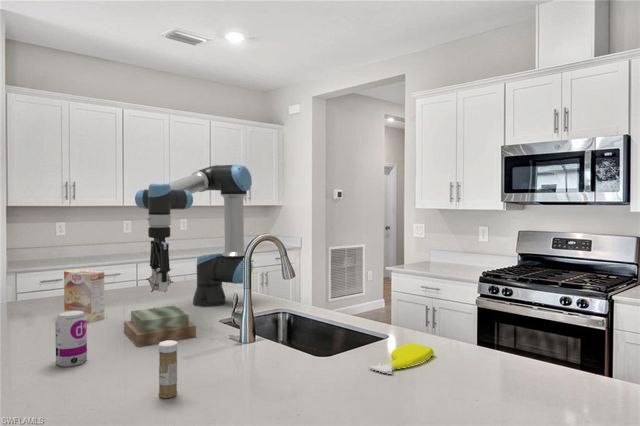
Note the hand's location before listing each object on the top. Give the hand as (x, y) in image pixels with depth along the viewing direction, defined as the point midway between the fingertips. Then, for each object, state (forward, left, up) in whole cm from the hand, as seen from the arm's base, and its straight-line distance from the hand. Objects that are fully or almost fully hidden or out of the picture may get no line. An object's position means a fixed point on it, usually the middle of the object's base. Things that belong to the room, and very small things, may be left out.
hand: (159, 288), depth 167 cm
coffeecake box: (+19, -39, -17) cm, 47 cm away
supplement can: (+30, +14, -17) cm, 37 cm away
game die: (0, 0, -1) cm, 1 cm away
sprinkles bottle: (+13, +53, -17) cm, 57 cm away
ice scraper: (-53, +69, -17) cm, 89 cm away
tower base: (0, 0, -17) cm, 17 cm away
